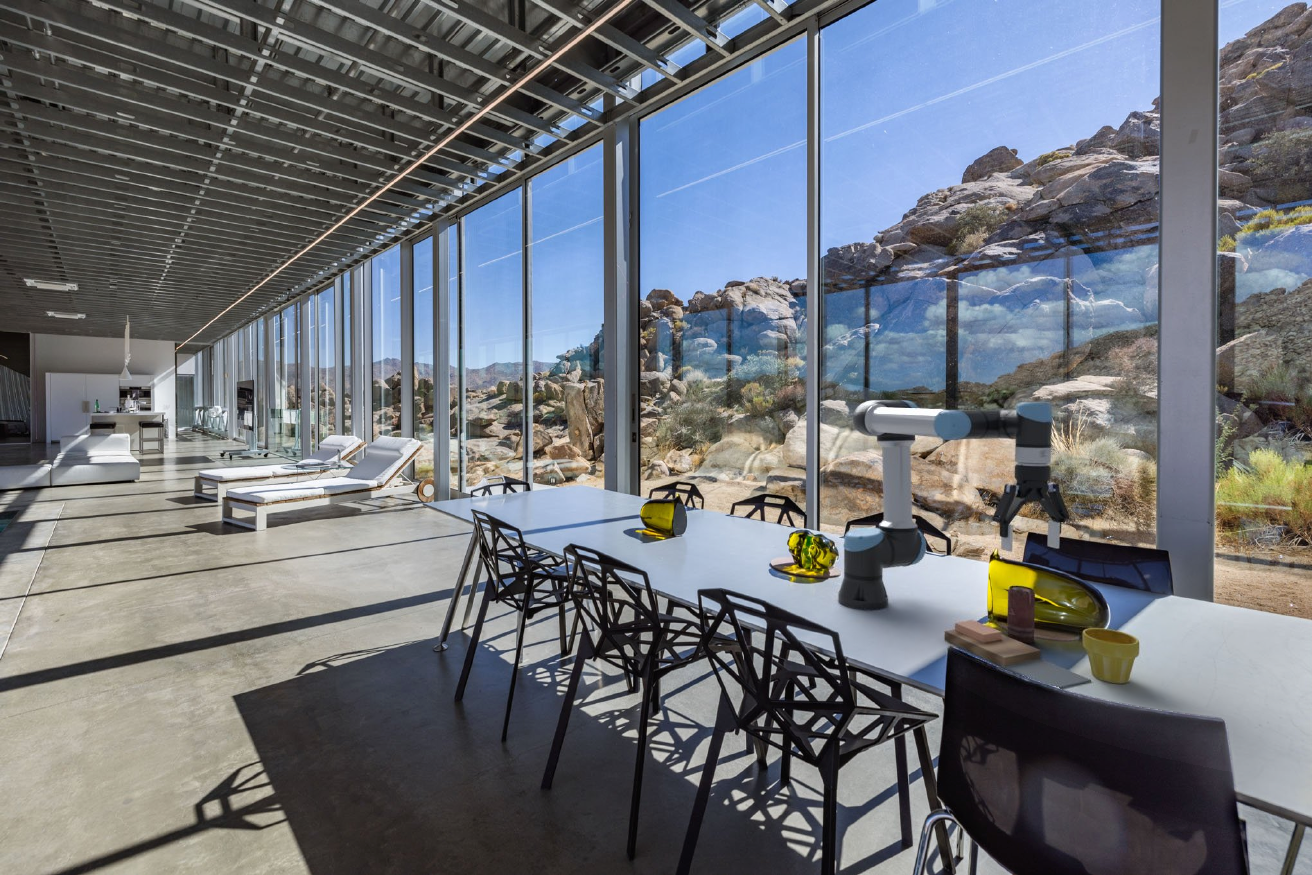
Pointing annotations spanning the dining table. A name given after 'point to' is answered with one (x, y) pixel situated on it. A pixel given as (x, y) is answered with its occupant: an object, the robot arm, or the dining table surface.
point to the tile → (978, 631)
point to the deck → (995, 648)
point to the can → (1021, 614)
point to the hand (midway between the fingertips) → (1030, 548)
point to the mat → (1047, 673)
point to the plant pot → (1110, 653)
